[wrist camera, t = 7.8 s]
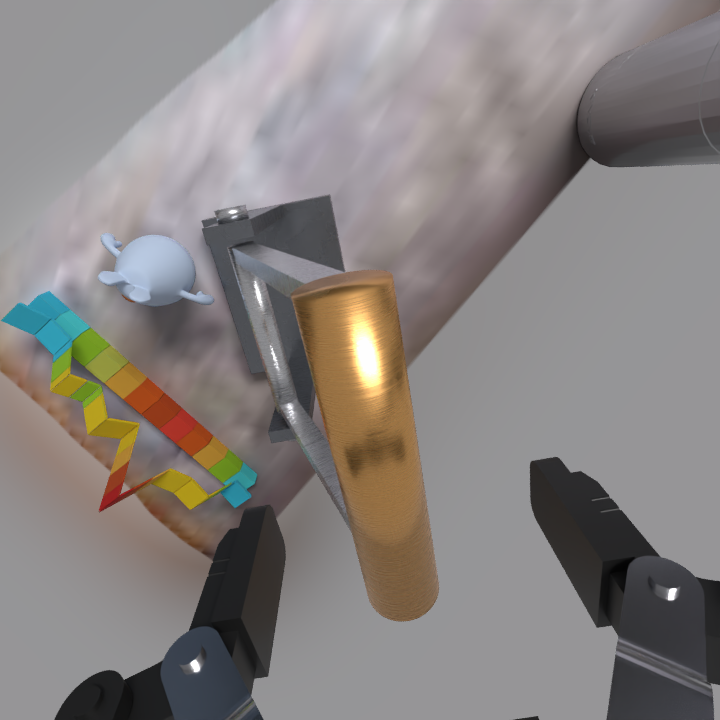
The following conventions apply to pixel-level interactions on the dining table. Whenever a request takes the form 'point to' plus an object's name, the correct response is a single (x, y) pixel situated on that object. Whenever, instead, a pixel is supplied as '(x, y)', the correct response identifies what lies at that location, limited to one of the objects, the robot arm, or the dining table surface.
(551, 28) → the dining table surface
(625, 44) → the dining table surface
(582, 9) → the dining table surface
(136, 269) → the toy figure
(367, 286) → the lever
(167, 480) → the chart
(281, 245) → the lever stand
